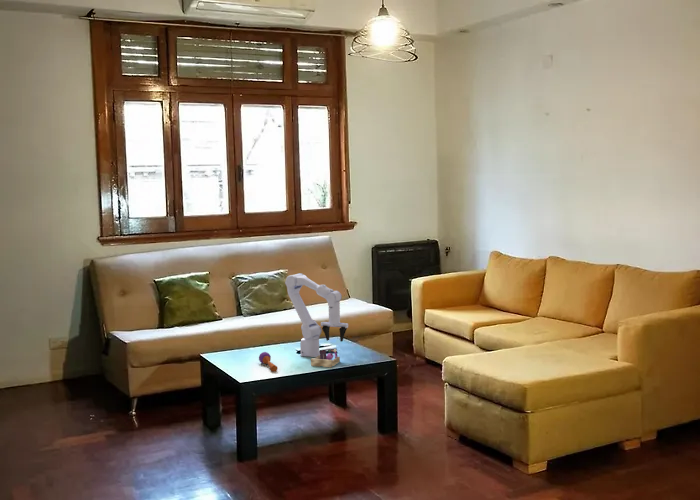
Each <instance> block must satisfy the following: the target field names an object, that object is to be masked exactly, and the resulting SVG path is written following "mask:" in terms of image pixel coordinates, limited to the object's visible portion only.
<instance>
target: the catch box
mask: <svg viewBox="0 0 700 500" xmlns="http://www.w3.org/2000/svg"><path fill="white" fill-rule="evenodd" d="M340 362H341V357H340V356H337V358H335V357H334V358H333V359H331V360H326V359H320V355H319V356H317V357H310V366H311V367H320V366H323V367H324V368H333V367H334V366H336V365H337V364H339V363H340ZM332 366H333V367H332ZM323 367H322V368H323Z"/></svg>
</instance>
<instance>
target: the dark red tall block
mask: <svg viewBox="0 0 700 500" xmlns="http://www.w3.org/2000/svg"><path fill="white" fill-rule="evenodd" d="M319 352H320V359H326V360H333V359H335V358H337V357H338V349H337V348H330V349H329V348H328V349H327V348H326V349H319ZM327 352H328V353H327Z"/></svg>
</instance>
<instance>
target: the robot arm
mask: <svg viewBox="0 0 700 500" xmlns="http://www.w3.org/2000/svg"><path fill="white" fill-rule="evenodd" d="M284 284H285V287H286V290H287V295H288V297H289V299H290V301H291V303H292V305H293V307H294V309H295V311H296V313H297V315H298V318H299V320H300V322H301V323H302V324H301V327H300V329H301V333H302V338H301V340H300V354H299V355H300V356H301V357H310V358H316V357H318V356H319V355H320V351H319V350H320V336H321V334H322V332H323V333H324V336H325V339H326V341H329V340H330V327H331V328H333V327H334V328H339V341H340V342H341V343H342V342H343V341H344V337H345V334H346V332H347V329H348V328H349V323H346V322H341V311H340V309H341V307H340V306H341V304H340V303H341V300H342V296H343V295H342V293H341V292H340V291H339V290H334V289H333V288H330V287H328V286H327V285H326V284H318V283H317V282H315V281H314V280H311V279H310V278H309V277H307V275H305V274H303V273H302V272H301V273H296V274H290V275H288V276H286V278H285V282H284ZM303 286H305V287H307V288H309V289H311V290H313V291H315V292H316V295H318V296H319V297H321V298H323V299H325V300H326V302H327V306H328V321H321V322H320V325H319V324H318V322H317V321H316V320H314V319H313V318H312V316H311V315H310V313H309V311H308V309H307V307H306V306H307V305H306V304H305V303H304V300H303V298H302V297H301V294H300V291H301V289H302V287H303ZM321 327H322V328H321Z"/></svg>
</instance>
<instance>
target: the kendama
mask: <svg viewBox="0 0 700 500" xmlns="http://www.w3.org/2000/svg"><path fill="white" fill-rule="evenodd" d="M271 358H272V357H271V354H270V353H269V352H268V351H262V352H261V353H259V356H258V360H259V362H260V363H261V364H262V365H268V366H269V368H270V370H271V372H277V371H278V366H277V365H276V364H274V363H273V362H271V360H272V359H271Z"/></svg>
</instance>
